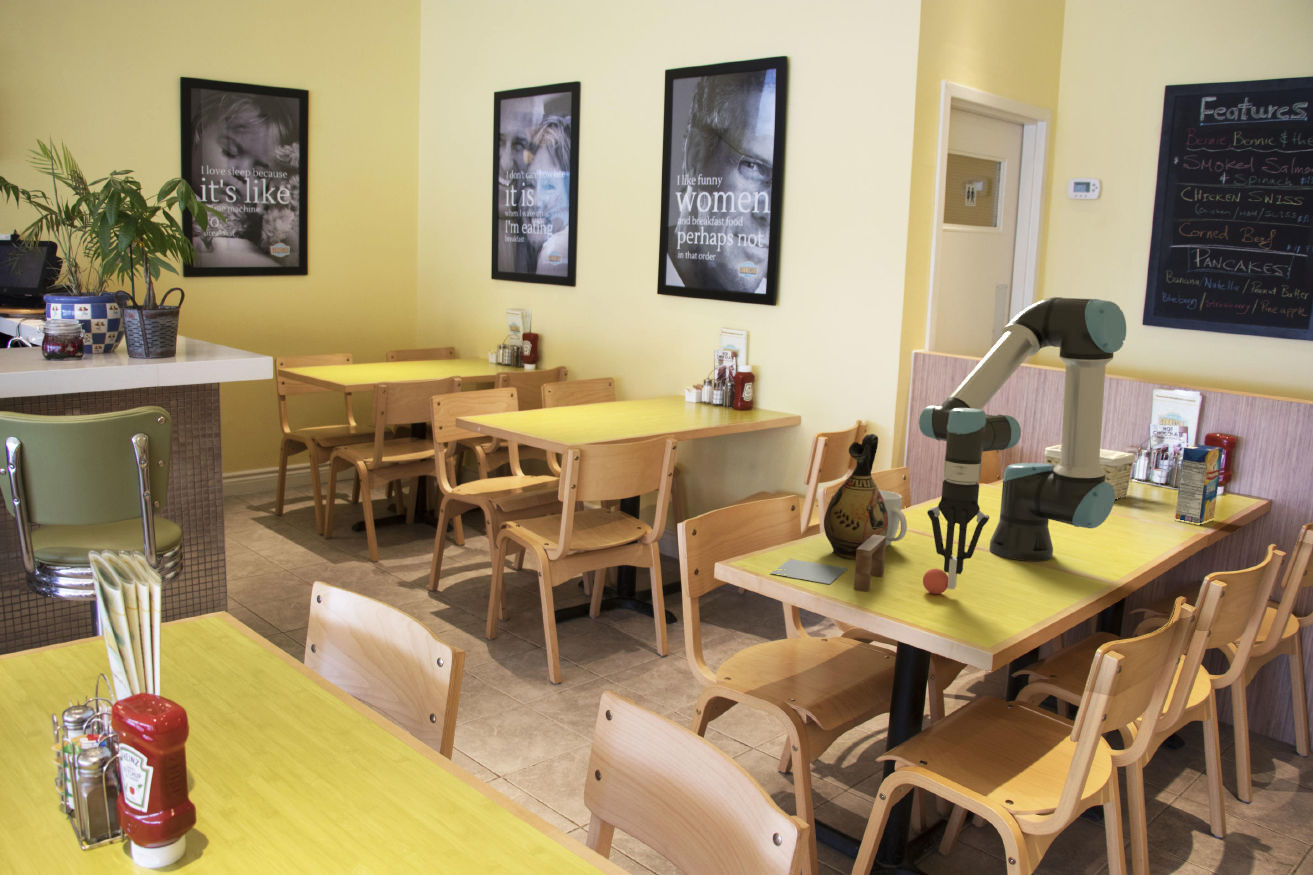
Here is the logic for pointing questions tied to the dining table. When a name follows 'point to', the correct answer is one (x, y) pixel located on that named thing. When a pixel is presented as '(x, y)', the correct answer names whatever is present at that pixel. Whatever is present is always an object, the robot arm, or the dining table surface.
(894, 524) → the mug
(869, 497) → the ceramic jug
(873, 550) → the bridge
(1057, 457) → the storage basket
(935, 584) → the ball
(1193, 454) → the blue cardboard box
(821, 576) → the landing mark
